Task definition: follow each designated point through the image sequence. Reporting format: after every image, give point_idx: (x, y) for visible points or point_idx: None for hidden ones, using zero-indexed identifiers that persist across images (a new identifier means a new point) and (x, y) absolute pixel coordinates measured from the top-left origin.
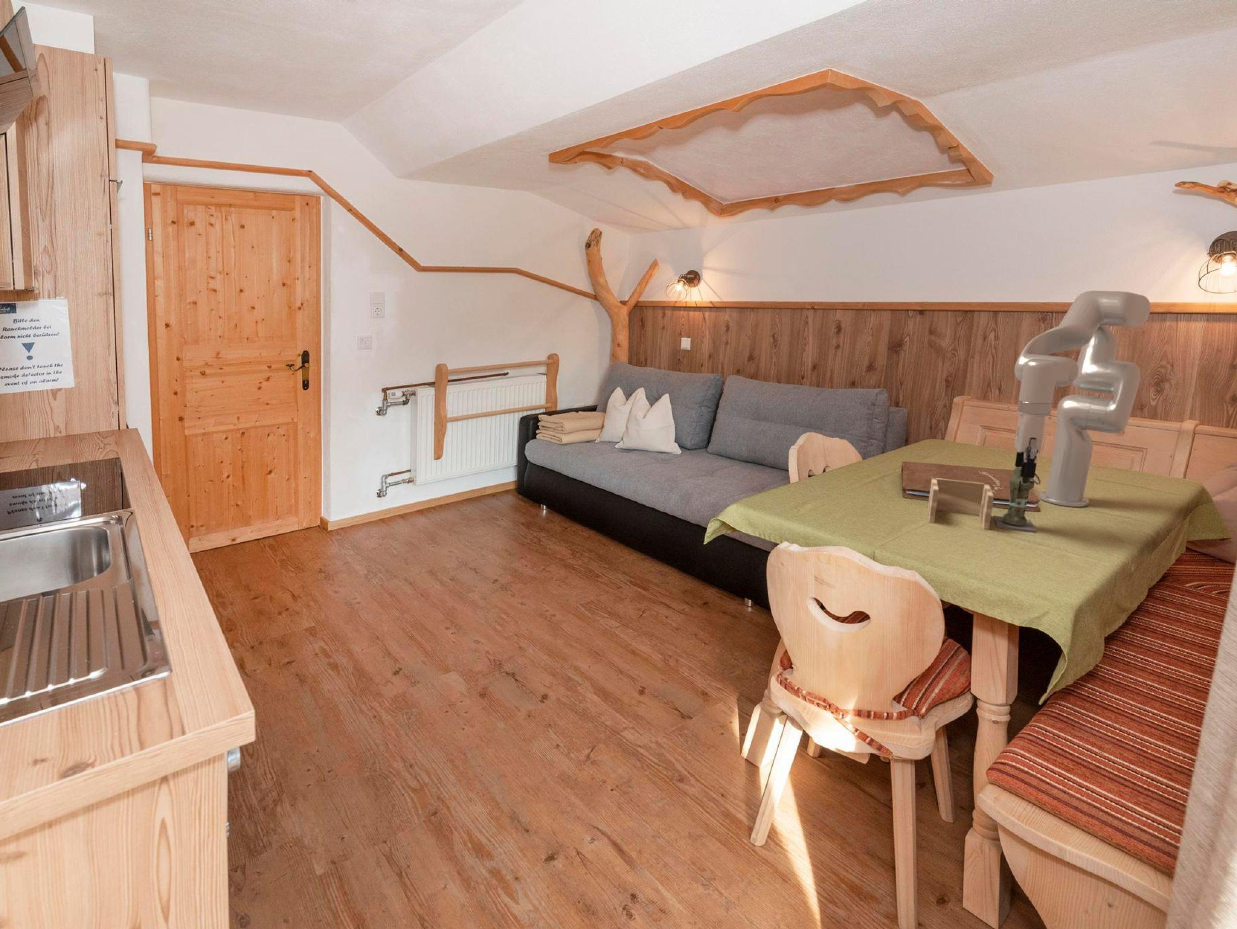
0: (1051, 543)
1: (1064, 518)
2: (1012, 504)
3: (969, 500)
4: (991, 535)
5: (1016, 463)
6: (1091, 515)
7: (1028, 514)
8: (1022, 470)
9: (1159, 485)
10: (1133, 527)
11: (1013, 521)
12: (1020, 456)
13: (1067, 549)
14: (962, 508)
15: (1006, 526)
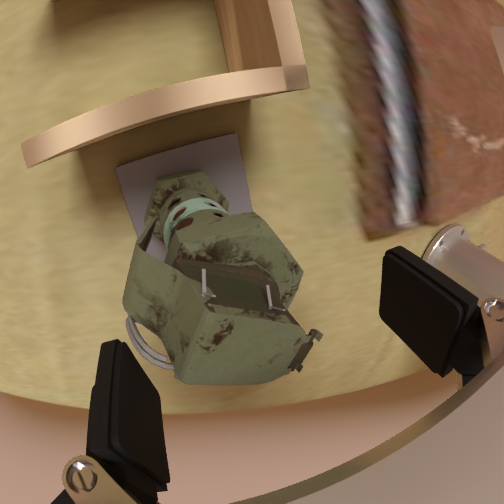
0: (90, 318)
1: (338, 295)
2: (168, 218)
3: (239, 37)
4: (28, 174)
5: (399, 265)
6: (377, 323)
7: (333, 221)
8: (99, 386)
9: None
10: (331, 382)
11: (146, 215)
12: (436, 314)
13: (79, 348)
14: (225, 29)
15: (128, 194)
